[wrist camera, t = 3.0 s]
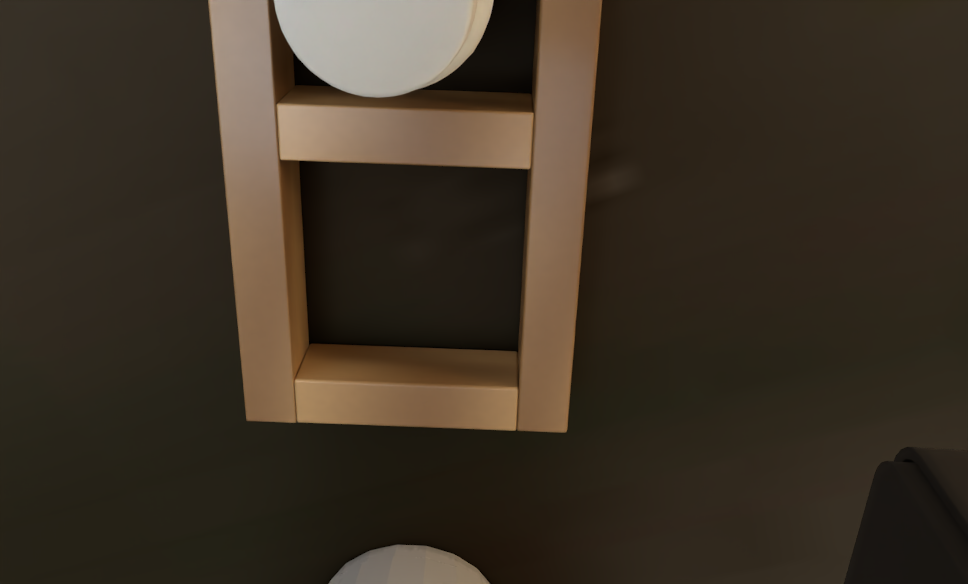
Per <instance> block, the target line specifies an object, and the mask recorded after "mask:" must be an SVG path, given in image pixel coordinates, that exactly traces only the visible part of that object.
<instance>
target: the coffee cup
mask: <svg viewBox="0 0 968 584" xmlns="http://www.w3.org/2000/svg"><path fill="white" fill-rule="evenodd" d="M329 584H490V583H489V582H488V581H487V579H486V578H485V577H484V576H483V575H482V574H481V572H480V571H479V570H478V569H477V568H475V567H474V566H472V565H471V564H469V563H468V562H466V561H464V560H463V559H461V558H460V557H458V556H456V555H455V554H452V553H449V552H445V551H442V550H439V549H435V548H432V547H429V546H419V545H393V546H388V547H384V548H379V549H374V550H370V551H368V552H366V553H364V554H362V555H360V556H358V557H357V558H355V559H353V560H351V561H349V562H347V563H346V564H345V565H344V566H343V567H342V568H341V569H340V570H339V572H338V573H337V574H336V575H335V576H334V577H333V578H332V579H331V580H330V582H329Z"/></svg>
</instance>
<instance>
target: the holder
mask: <svg viewBox="0 0 968 584" xmlns="http://www.w3.org/2000/svg"><path fill="white" fill-rule="evenodd" d="M208 5H209V16H210V27H211V38H212V49H213V60H214V71H215V82H216V92H217V103H218V114H219V125H220V136H221V147H222V158H223V169H224V180H225V191H226V202H227V213H228V224H229V235H230V246H231V257H232V268H233V279H234V290H235V301H236V312H237V323H238V334H239V344H240V355H241V366H242V377H243V388H244V399H245V410H246V420H247V421H263V422H289V423H295V422H296V421H298V422H303V423H329V424H355V425H381V426H407V427H433V428H458V429H484V430H510V431H514V430H516V428H517V430H519V431H536V432H562V433H564V432H566V431H567V425H568V413H569V401H570V389H571V377H572V364H573V352H574V340H575V328H576V316H577V303H578V291H579V279H580V267H581V255H582V242H583V230H584V218H585V206H586V193H587V181H588V169H589V157H590V145H591V132H592V120H593V108H594V96H595V84H596V71H597V59H598V47H599V35H600V23H601V10H602V0H537V4H536V23H535V42H534V60H533V79H532V96H531V94H530V93H503V92H475V91H448V90H420V89H417V90H414V91H411V92H409V93H406V94H403V95H398V96H393V97H381V98H376V97H363V96H359V95H354V94H351V93H348V92H345V91H342V90H340V89H338V88H335V87H333V86H309V85H296V86H295V80H294V62H293V50H292V48H291V47H290V45H289V44H288V42H287V40H286V38H285V36H284V34H283V32H282V30H281V27H280V24H279V21H278V18H277V14H276V11H275V4H274V0H208ZM299 161H319V162H346V163H374V164H401V165H428V166H456V167H483V168H511V169H528V173H527V192H526V211H525V230H524V249H523V268H522V286H521V305H520V324H519V343H518V353H517V352H516V351H497V350H471V349H445V348H418V347H392V346H366V345H339V344H313V343H312V344H310V345H309V333H308V315H307V297H306V279H305V261H304V243H303V225H302V206H301V188H300V170H299Z"/></svg>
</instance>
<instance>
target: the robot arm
mask: <svg viewBox="0 0 968 584" xmlns="http://www.w3.org/2000/svg"><path fill="white" fill-rule="evenodd" d="M844 584H968V451H965V450H953V449H935V448H917V447H906V448H904V449H901V450H900V452H899V453H898V454H897V455H896V457H895V459H894V462H893V461H885V462H882V463H881V464H880V465H879V466H878V468H877V470H876V472H875V475H874V478H873V482H872V486H871V489H870V493H869V496H868V500H867V503H866V507H865V510H864V514H863V518H862V521H861V525H860V528H859V532H858V535H857V539H856V543H855V546H854V550H853V553H852V557H851V560H850V564H849V567H848V571H847V575H846V578H845V582H844Z"/></svg>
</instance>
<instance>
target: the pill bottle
mask: <svg viewBox="0 0 968 584" xmlns="http://www.w3.org/2000/svg"><path fill="white" fill-rule="evenodd" d="M493 1H494V0H274V4H275V11H276V14H277V18H278V21H279V24H280V27H281V30H282V32H283V34H284V36H285V38H286V40H287V42H288V44H289V45H290V47H291V48H292V50H293V52H294V53H295V54H296V56H297V57H298V59H299V60H300V61H301V62H302V63H303V64H304V65H305V66H306V67H307V68H308V69H309V70H310V71H311V72H312V73H314V74H315V75H316V76H318V77H319V78H320V79H322V80H323V81H325V82H327V83H328V84H330V85H331V86H333V87H335V88H338V89H340V90H342V91H345V92H348V93H351V94H354V95H359V96H363V97H376V98H381V97H393V96H398V95H403V94H406V93H409V92H411V91H414V90H417V89H420V88H424V87H426V86H429V85H431V84H434V83H436V82H438V81H440V80H441V79H443V78H445V77H447V76H448V75H449V74H451V73H452V72H453V71H455V70H456V69H457V68H459V67H460V66H461V65H462V64H463V63H464V62H465V61H466V59H467V58H468V57H469V56H470V55H471V54H472V53H473V52H474V50H475V48H476V47H477V45H478V43H479V42H480V40H481V38H482V36H483V34H484V31H485V29H486V26H487V24H488V22H489V19H490V15H491V12H492V7H493Z"/></svg>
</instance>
